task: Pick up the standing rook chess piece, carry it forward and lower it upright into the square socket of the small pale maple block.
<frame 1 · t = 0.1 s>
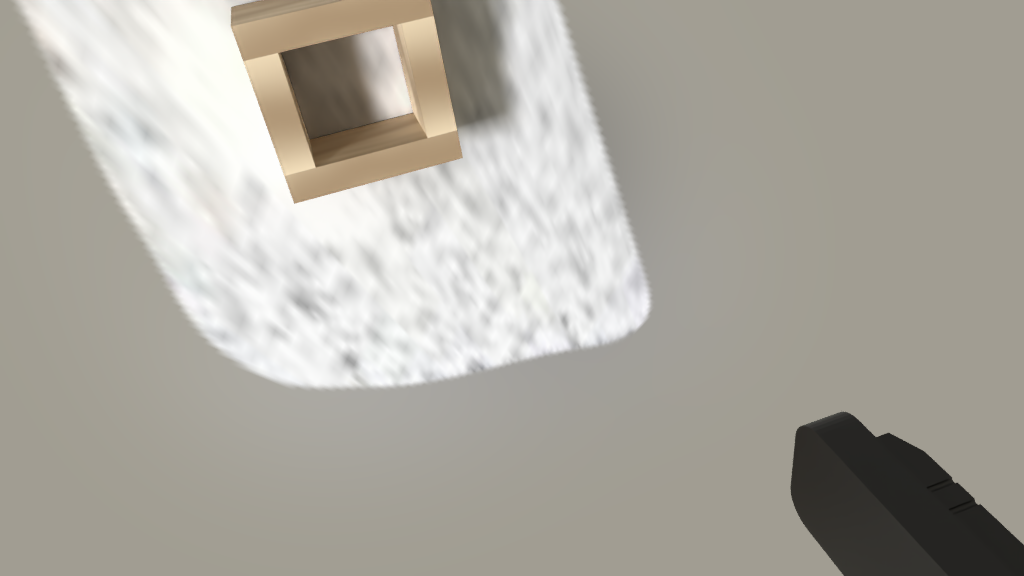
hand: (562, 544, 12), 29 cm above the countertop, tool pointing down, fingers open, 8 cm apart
socket block: (347, 74, 36), on the countertop
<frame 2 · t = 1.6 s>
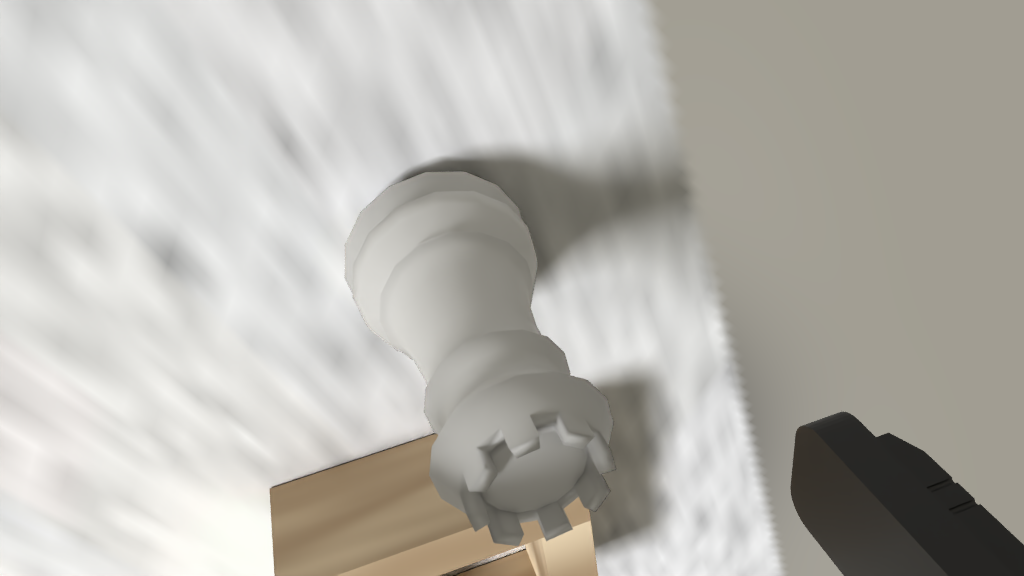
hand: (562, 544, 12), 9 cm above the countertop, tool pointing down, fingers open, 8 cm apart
rook chess piece: (432, 243, 19), on the countertop
socket block: (437, 528, 24), on the countertop
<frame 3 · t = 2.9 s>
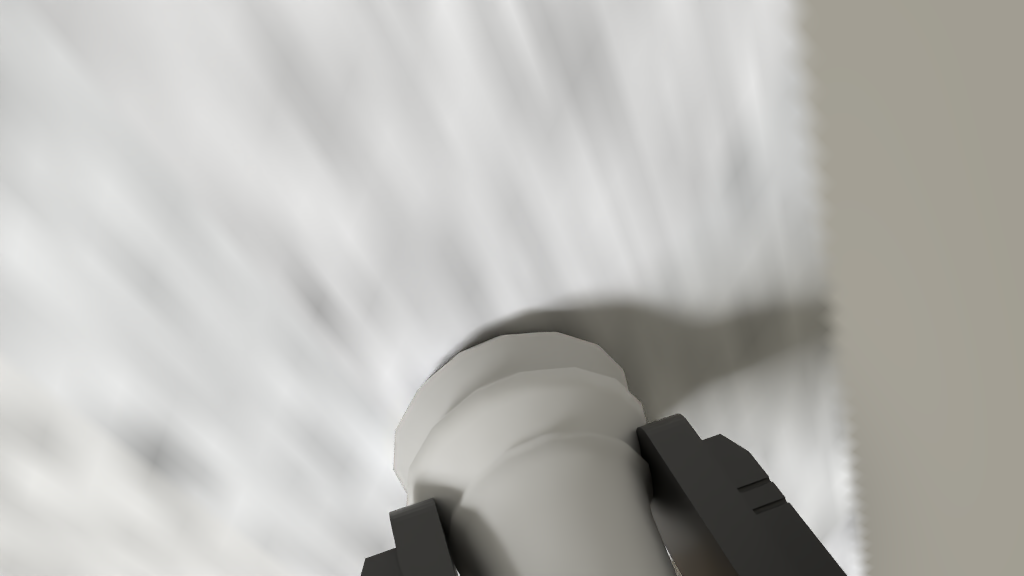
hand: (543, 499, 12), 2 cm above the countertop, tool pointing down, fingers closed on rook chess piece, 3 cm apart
rook chess piece: (505, 410, 14), on the countertop, touching gripper
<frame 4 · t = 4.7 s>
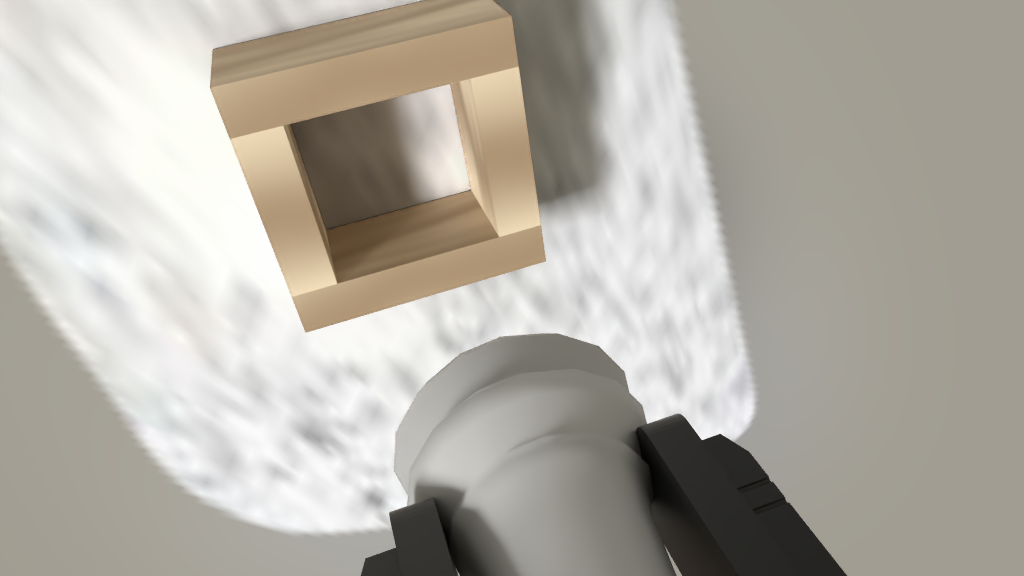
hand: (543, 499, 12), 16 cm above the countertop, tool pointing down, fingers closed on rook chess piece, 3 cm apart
rook chess piece: (506, 411, 14), point 13 cm above the countertop, touching gripper
socket block: (381, 141, 25), on the countertop
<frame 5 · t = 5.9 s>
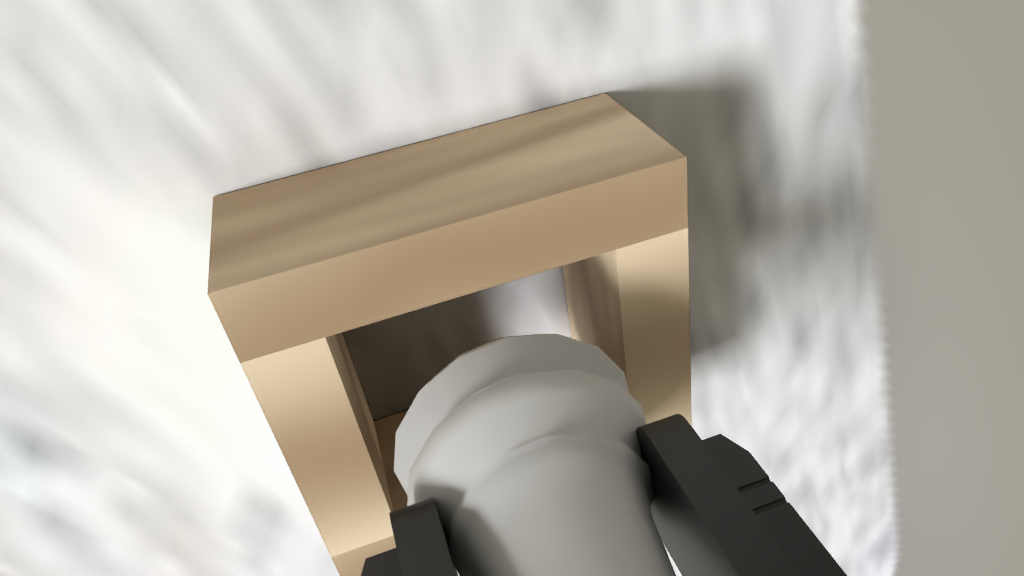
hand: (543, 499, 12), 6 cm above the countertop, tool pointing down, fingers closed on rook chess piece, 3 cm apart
rook chess piece: (505, 412, 14), point 4 cm above the countertop, touching gripper
socket block: (456, 304, 17), on the countertop
when the fingers open (4 cm above the countertop, at t = 6.6 s): rook chess piece drops 2 cm, resting in socket block.
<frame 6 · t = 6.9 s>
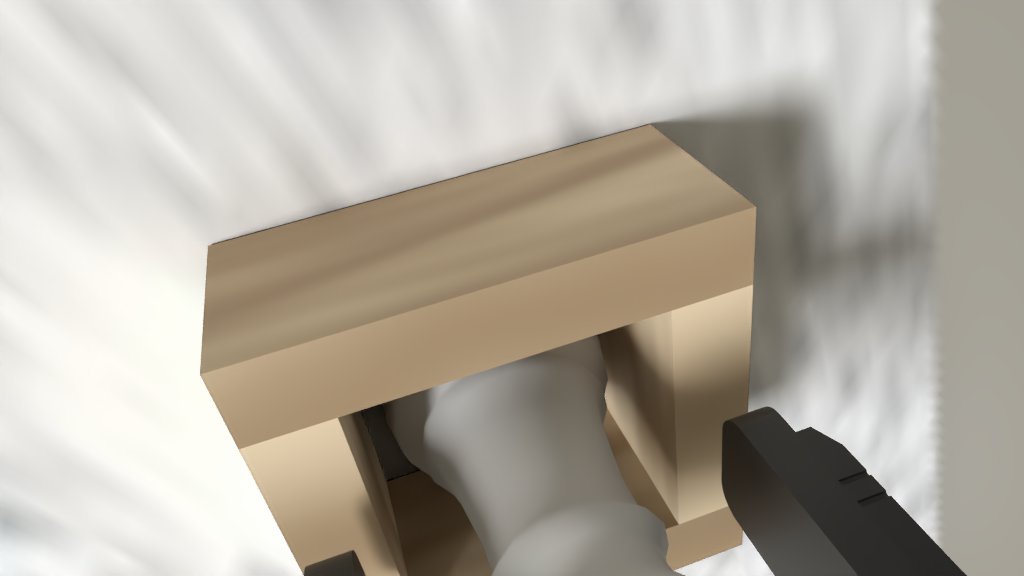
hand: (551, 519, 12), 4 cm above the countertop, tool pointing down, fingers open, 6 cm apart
rook chess piece: (477, 345, 16), resting in socket block
socket block: (479, 355, 15), on the countertop
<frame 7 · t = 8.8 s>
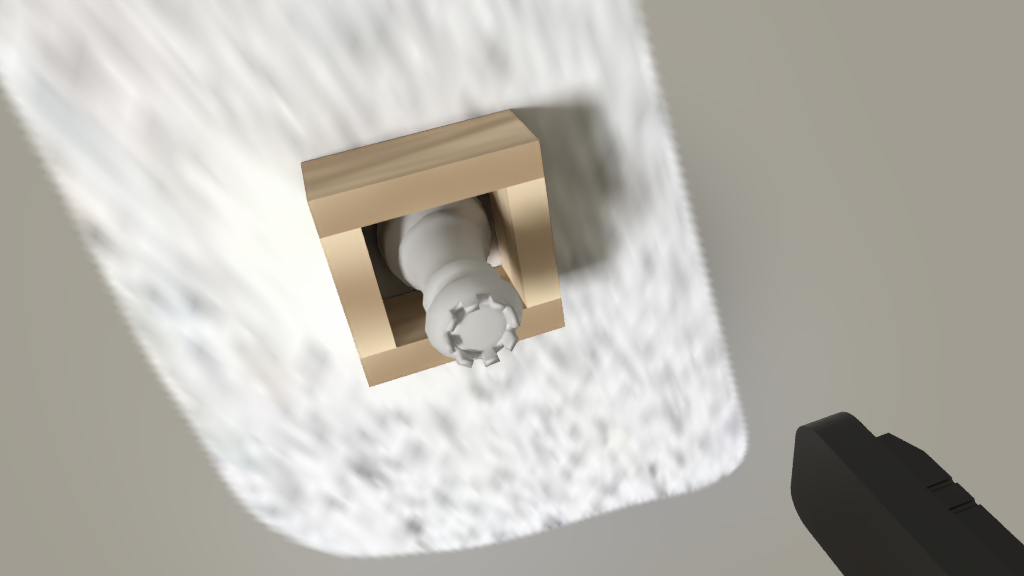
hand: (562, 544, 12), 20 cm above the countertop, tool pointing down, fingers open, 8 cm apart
rook chess piece: (429, 224, 30), resting in socket block
socket block: (430, 228, 30), on the countertop
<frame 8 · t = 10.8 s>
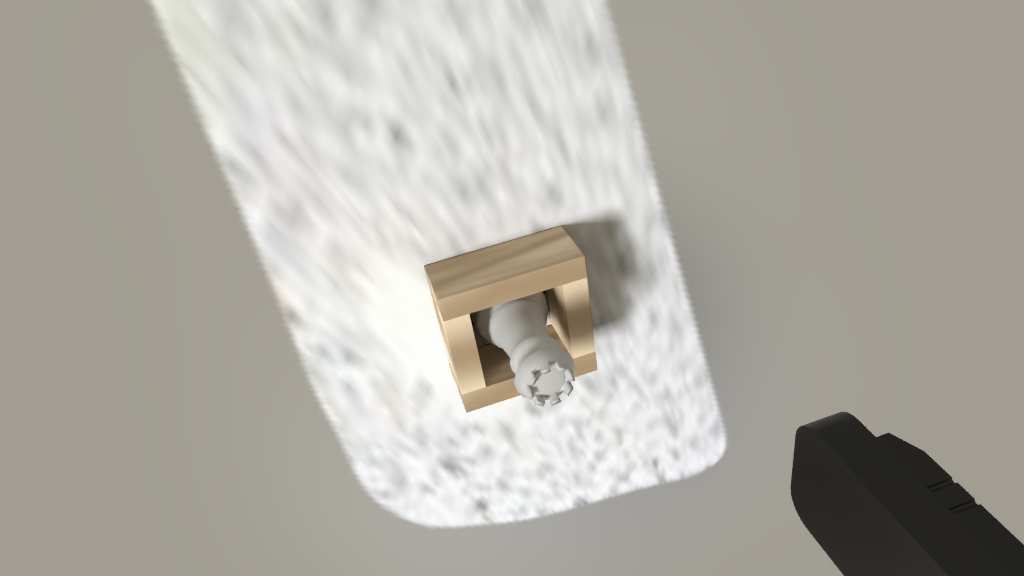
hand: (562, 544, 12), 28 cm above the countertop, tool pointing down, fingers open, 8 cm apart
rook chess piece: (504, 299, 44), resting in socket block
socket block: (504, 303, 44), on the countertop
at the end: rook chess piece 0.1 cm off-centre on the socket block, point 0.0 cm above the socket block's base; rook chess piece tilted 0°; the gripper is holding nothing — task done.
